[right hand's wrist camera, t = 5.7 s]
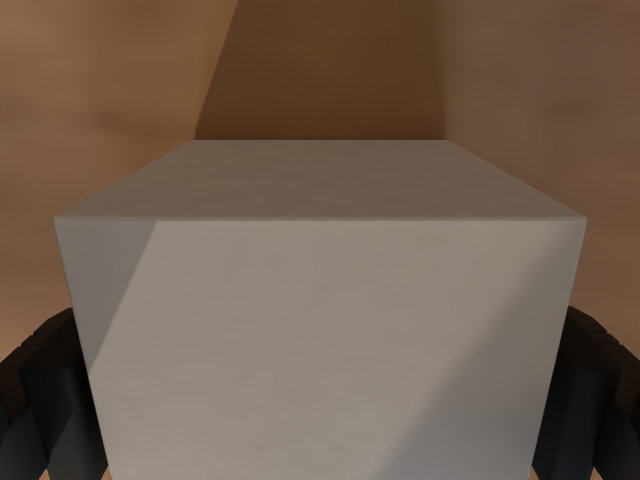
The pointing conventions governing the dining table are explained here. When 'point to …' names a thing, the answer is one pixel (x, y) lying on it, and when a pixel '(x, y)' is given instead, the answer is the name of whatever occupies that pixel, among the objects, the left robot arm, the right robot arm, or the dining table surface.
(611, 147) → the dining table surface
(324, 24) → the dining table surface
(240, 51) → the dining table surface
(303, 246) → the block
